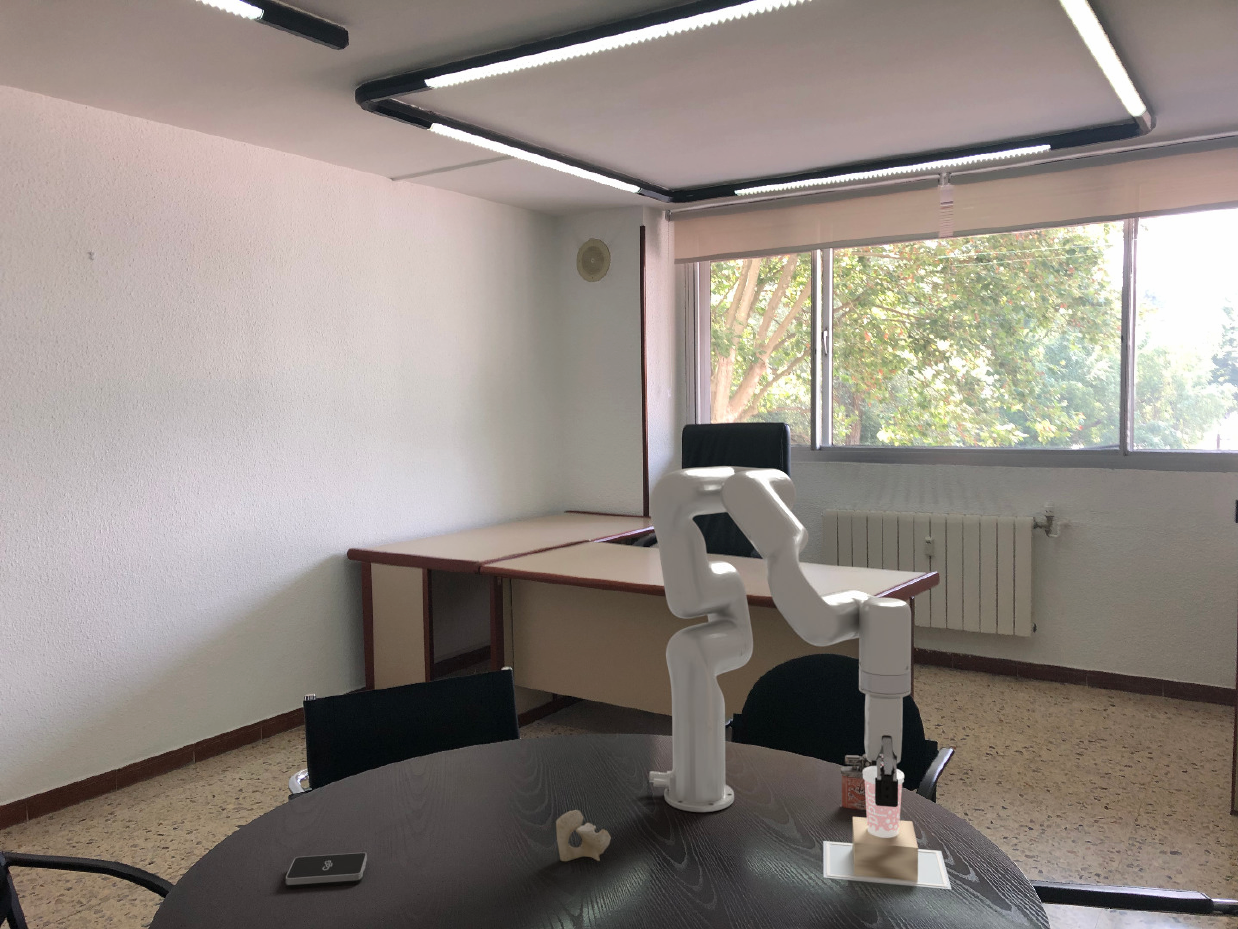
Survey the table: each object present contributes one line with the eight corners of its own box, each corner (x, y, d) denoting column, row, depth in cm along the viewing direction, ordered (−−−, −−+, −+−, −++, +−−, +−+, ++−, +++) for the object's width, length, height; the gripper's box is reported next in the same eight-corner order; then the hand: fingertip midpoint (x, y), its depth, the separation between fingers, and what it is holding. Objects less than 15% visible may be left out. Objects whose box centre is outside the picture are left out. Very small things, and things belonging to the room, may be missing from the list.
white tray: (823, 884, 138) (823, 876, 138) (823, 847, 149) (823, 840, 149) (951, 896, 134) (951, 888, 134) (941, 857, 146) (941, 850, 146)
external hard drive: (360, 887, 139) (360, 874, 139) (284, 892, 138) (283, 879, 138) (367, 864, 146) (367, 852, 146) (294, 869, 145) (294, 857, 145)
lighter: (886, 808, 164) (886, 752, 163) (889, 816, 161) (889, 759, 160) (839, 807, 165) (839, 751, 164) (842, 815, 161) (842, 758, 161)
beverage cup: (853, 826, 143) (854, 737, 143) (886, 819, 146) (886, 731, 145) (879, 843, 138) (879, 750, 137) (912, 835, 140) (913, 744, 139)
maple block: (854, 875, 138) (854, 842, 138) (852, 847, 147) (852, 816, 147) (917, 881, 136) (918, 847, 136) (912, 852, 145) (912, 821, 145)
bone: (616, 833, 152) (607, 795, 146) (613, 870, 146) (605, 831, 141) (564, 835, 153) (554, 797, 147) (560, 871, 147) (549, 833, 142)
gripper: (856, 664, 149) (856, 769, 150) (861, 696, 133) (861, 814, 133) (905, 667, 148) (905, 772, 149) (916, 699, 131) (915, 818, 132)
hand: (884, 792), depth 141 cm, fingers open, 9 cm apart
